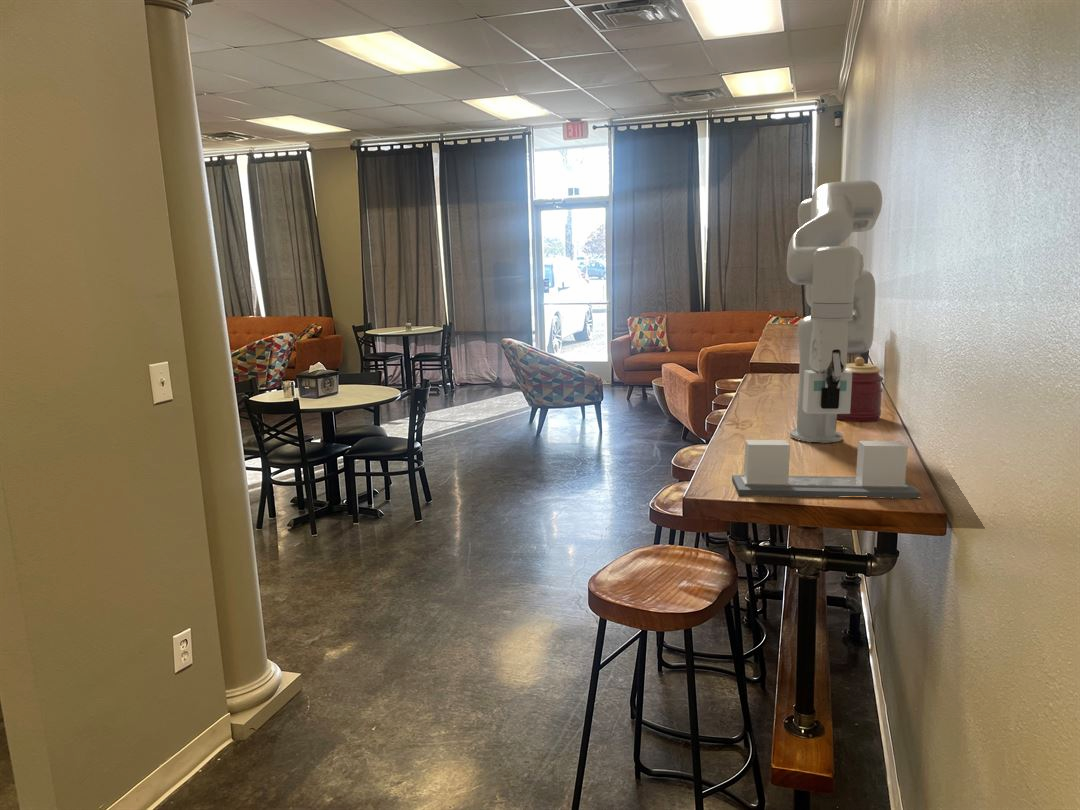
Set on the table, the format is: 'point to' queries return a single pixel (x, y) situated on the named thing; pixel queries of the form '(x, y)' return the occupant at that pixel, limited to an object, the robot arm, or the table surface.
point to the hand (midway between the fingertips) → (826, 404)
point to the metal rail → (823, 483)
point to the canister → (864, 392)
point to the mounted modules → (873, 468)
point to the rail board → (822, 490)
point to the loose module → (814, 390)
